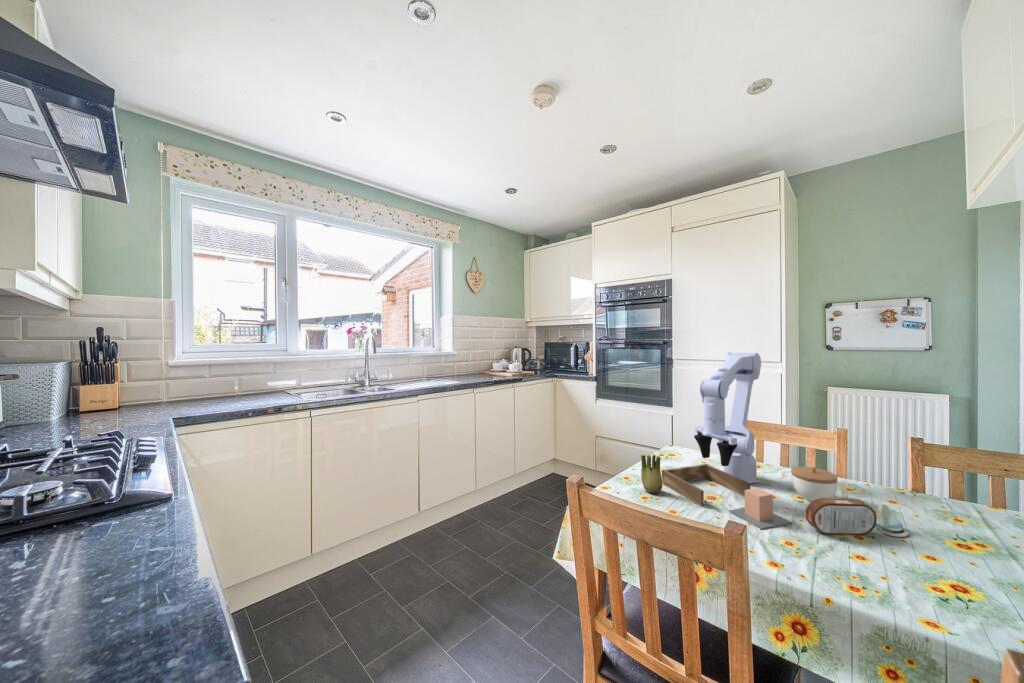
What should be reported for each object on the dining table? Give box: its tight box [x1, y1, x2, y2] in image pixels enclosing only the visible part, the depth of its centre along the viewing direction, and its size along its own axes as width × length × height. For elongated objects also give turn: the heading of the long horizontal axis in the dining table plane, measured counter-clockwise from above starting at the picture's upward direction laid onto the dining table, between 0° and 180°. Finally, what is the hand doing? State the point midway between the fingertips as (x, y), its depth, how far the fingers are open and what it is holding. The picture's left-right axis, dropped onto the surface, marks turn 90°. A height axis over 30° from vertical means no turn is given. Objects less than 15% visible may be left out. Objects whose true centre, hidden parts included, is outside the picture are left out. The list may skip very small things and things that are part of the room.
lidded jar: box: [790, 466, 838, 503], centre depth 110 cm, size 11×11×9 cm
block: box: [744, 487, 774, 521], centre depth 100 cm, size 4×4×6 cm
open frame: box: [661, 463, 751, 507], centre depth 118 cm, size 18×18×4 cm
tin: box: [805, 497, 878, 536], centre depth 91 cm, size 15×3×8 cm, turn 84°
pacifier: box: [875, 504, 910, 538], centre depth 91 cm, size 7×6×6 cm
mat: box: [728, 507, 793, 530], centre depth 100 cm, size 10×10×1 cm
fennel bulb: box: [640, 453, 663, 495], centre depth 118 cm, size 6×5×12 cm
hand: (715, 461), depth 114 cm, fingers open, 7 cm apart
